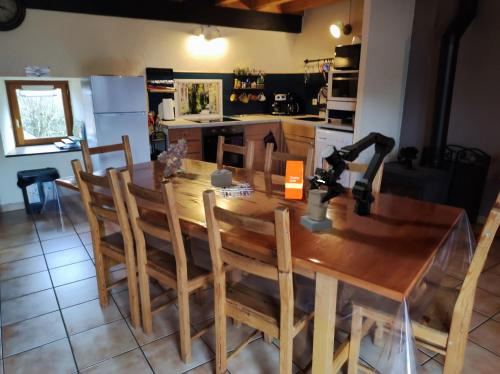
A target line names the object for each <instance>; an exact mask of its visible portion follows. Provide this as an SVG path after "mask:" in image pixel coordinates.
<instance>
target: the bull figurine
mask: <svg viewBox="0 0 500 374" xmlns="http://www.w3.org/2000/svg"><path fill="white" fill-rule="evenodd" d="M309 190H310V186H307V187H306V188H305V197H306V201H307V202H308V194H309Z"/></svg>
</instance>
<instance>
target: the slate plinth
mask: <svg viewBox="0 0 500 374" xmlns="http://www.w3.org/2000/svg"><path fill="white" fill-rule="evenodd" d="M333 223H334V222H333V220H332V218H331V219H330V218H329V217H327V216H326V219H322V220H319V221H317V220H314V219H311V218H308V217H307V214H306V215H302V216H300V225H302V226H303V227H305V228H306V229H308V230H309V231H310V232H312V233H314V232H319V231H324V230H331V229H333Z"/></svg>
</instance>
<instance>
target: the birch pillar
mask: <svg viewBox="0 0 500 374" xmlns="http://www.w3.org/2000/svg"><path fill="white" fill-rule="evenodd" d="M327 191H328V190H324V189H320V188H319V189H314V190H309V196H308V201H307V209H306V215H307V217H308V218H311V219H314V220H317V221H319V220H322V219H326V217H327V213H328V205H329V204H328V203H329V200H328V201H327V202H325V203H323V204H322V203H321V201H322V199H323V198H324V196H325V194H326V193H327Z"/></svg>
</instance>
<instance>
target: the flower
mask: <svg viewBox="0 0 500 374" xmlns="http://www.w3.org/2000/svg"><path fill="white" fill-rule="evenodd" d="M181 137H182V136H181ZM177 140H178V141H177V144H175V143H172V144H171V143H169V148H168V149H167V151H165V150H164V151H163V152H161V153H159V155H157V161H159V162H160V163H165V164H167V165H166V166H165V170H163V174H164V175H165V176H166V177H170V176H171V175H172V174H175V172H176V173H183V174H186V173H185V171H186V169H185V167H183V168H181V167H182V165H183V163H182V160H184V159H185V158H186V155H187V154H188V150H187V149H188V145H187V144H186V143H187V140H186V139H184V138H183V137H182V138H181V140H180V139H177ZM168 152H169V153H170V152H171V153H170V154H168ZM174 158H175V159H174ZM173 159H174V160H173ZM169 160H171V162H169ZM174 168H175V169H177V171H175V169H174ZM173 169H174V170H173Z"/></svg>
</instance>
